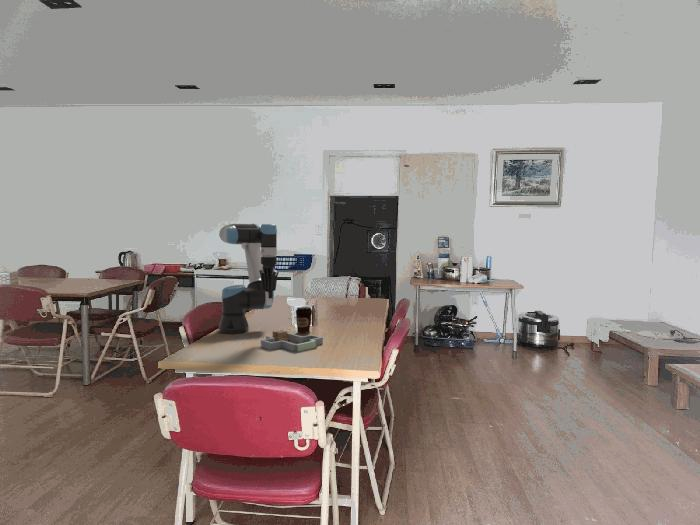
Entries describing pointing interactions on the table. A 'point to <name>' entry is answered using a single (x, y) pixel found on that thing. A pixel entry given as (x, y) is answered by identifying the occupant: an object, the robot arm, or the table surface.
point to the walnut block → (280, 335)
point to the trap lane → (305, 341)
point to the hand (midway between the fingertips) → (268, 304)
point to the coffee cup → (303, 319)
